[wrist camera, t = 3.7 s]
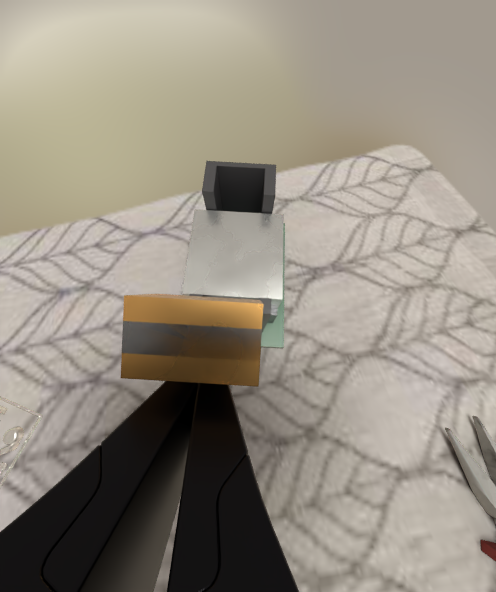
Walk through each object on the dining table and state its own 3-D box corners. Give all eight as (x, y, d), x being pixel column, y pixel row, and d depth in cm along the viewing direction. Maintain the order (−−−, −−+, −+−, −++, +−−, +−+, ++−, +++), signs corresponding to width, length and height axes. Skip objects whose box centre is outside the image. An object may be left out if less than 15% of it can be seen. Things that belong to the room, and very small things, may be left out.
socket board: (282, 348, 21) (304, 334, 13) (184, 342, 21) (149, 325, 13) (283, 226, 25) (301, 161, 17) (201, 222, 25) (182, 155, 17)
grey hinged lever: (252, 320, 16) (258, 386, 5) (208, 317, 16) (120, 378, 5) (254, 293, 16) (263, 303, 5) (209, 290, 16) (124, 295, 5)
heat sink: (272, 323, 21) (282, 306, 16) (196, 318, 21) (180, 300, 16) (274, 246, 24) (283, 209, 18) (206, 242, 24) (195, 204, 18)
